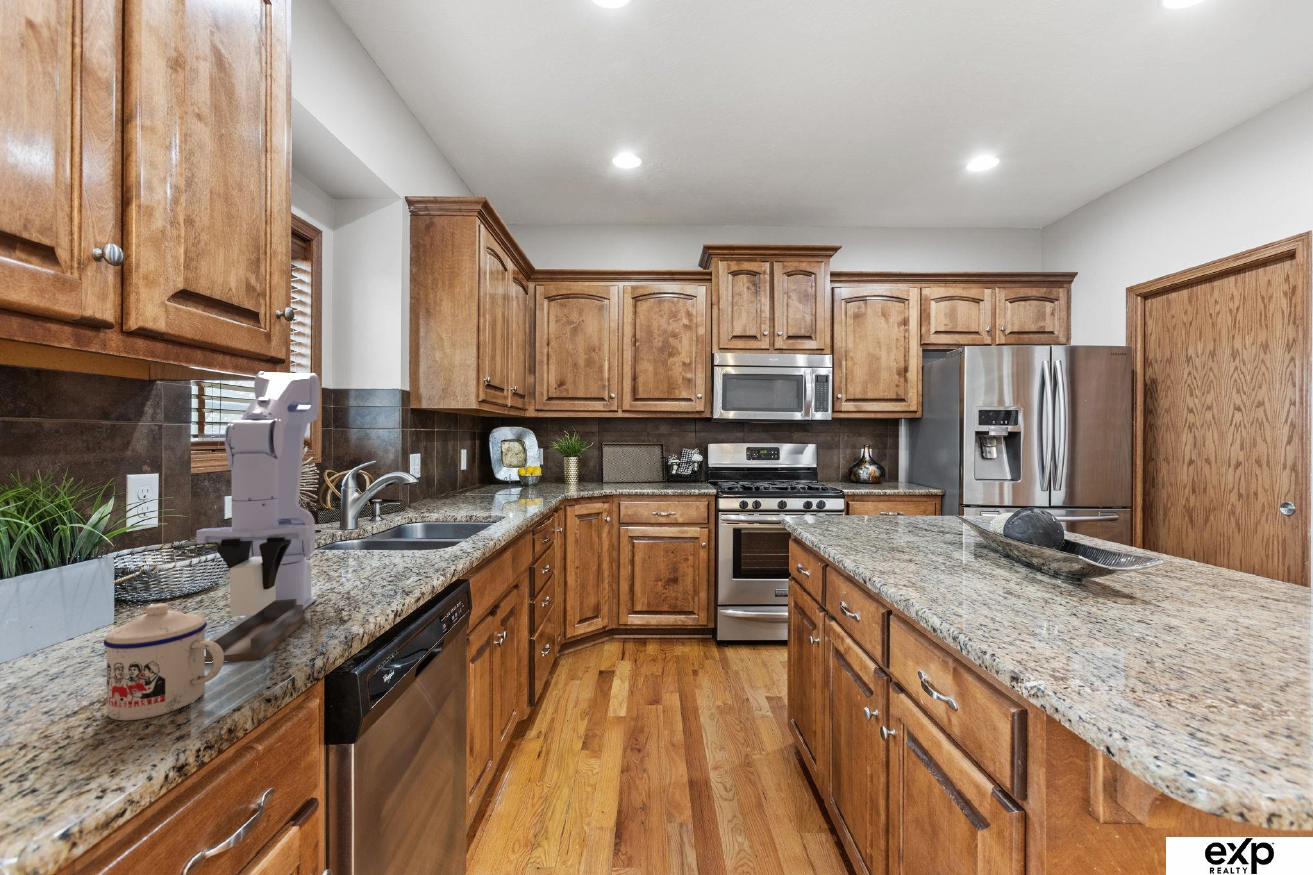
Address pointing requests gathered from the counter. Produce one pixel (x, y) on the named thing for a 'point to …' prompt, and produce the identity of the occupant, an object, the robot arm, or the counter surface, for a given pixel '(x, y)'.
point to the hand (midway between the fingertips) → (255, 588)
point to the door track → (259, 631)
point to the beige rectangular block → (249, 588)
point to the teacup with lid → (157, 663)
